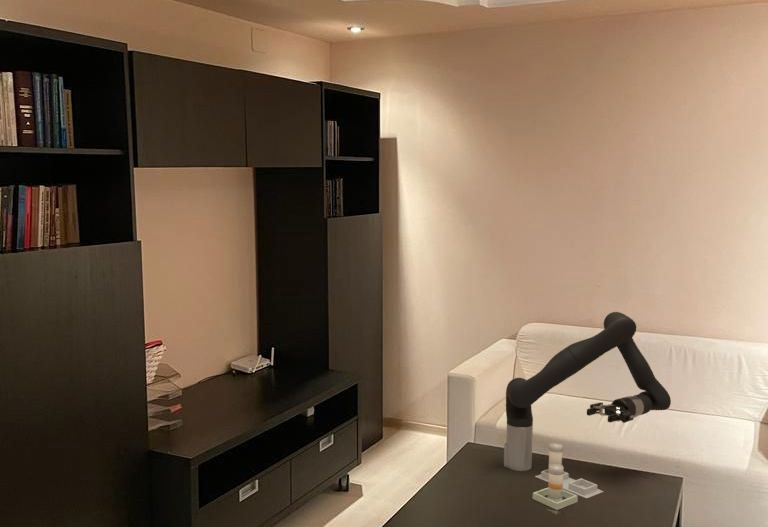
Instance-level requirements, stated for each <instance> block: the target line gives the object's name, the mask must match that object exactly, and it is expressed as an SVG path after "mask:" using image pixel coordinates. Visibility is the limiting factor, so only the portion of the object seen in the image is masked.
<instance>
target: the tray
mask: <svg viewBox="0 0 768 527" xmlns="http://www.w3.org/2000/svg"><path fill="white" fill-rule="evenodd" d="M546 496H548V487H546V488H541V489H540V490H537V491H534V492H532V500H534V501H536V502H539V503H540V504H543V505H545V506H548V508H544V507H543V510H546V511H549V512H550V513H553V514H555V515H559V514H561V513H562V511H558V510H560V509H563V508H565V507H568V506H571V505H573V504H576V503H578V497H579V495H577V494H575V493H573V492H570V491H568V490H565V489H563V488H562V498H564V499H562V501H559V502H555V501H553V500H550V499H548V497H546ZM550 508H552V509H550Z"/></svg>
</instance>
